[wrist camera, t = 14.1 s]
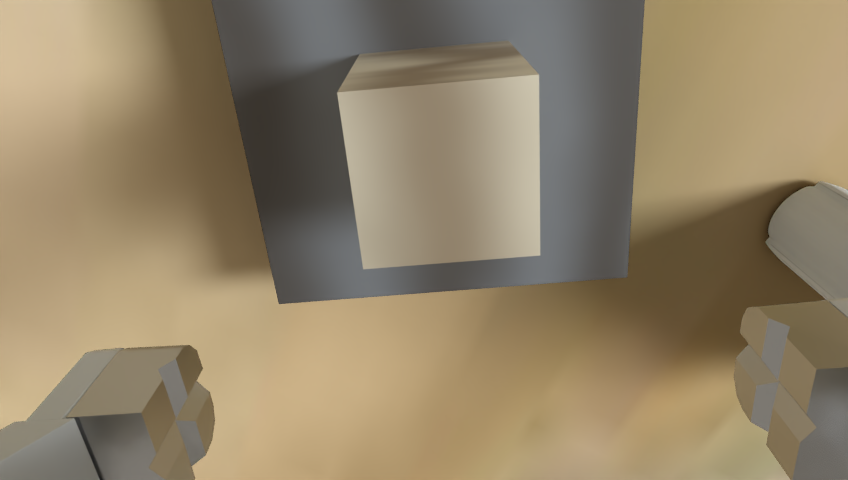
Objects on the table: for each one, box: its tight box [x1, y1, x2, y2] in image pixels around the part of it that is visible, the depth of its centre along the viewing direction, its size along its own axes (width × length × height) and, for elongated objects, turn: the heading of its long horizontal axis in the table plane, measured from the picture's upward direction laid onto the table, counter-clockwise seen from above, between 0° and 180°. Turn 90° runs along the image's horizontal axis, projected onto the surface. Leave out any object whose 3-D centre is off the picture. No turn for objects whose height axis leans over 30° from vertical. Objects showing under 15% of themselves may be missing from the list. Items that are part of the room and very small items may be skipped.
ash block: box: [337, 41, 540, 269], centre depth 19 cm, size 5×5×6 cm
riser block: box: [212, 0, 645, 304], centre depth 23 cm, size 14×14×4 cm
